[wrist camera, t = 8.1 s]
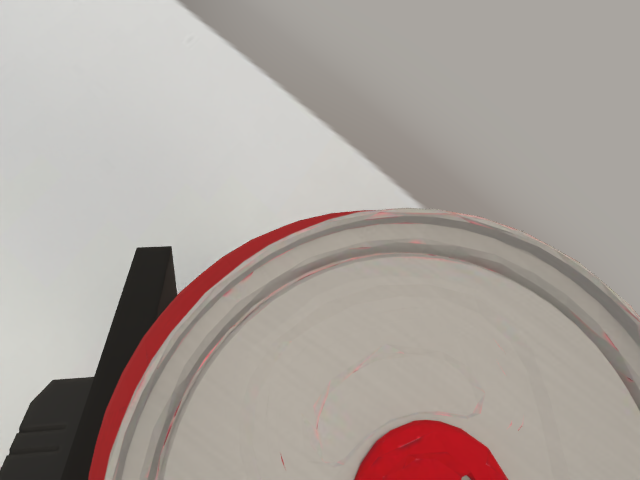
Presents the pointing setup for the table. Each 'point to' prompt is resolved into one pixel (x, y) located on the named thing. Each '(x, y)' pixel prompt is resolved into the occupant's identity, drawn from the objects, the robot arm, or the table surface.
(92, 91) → the table surface
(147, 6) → the table surface
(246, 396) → the beverage can
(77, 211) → the table surface
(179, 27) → the table surface
